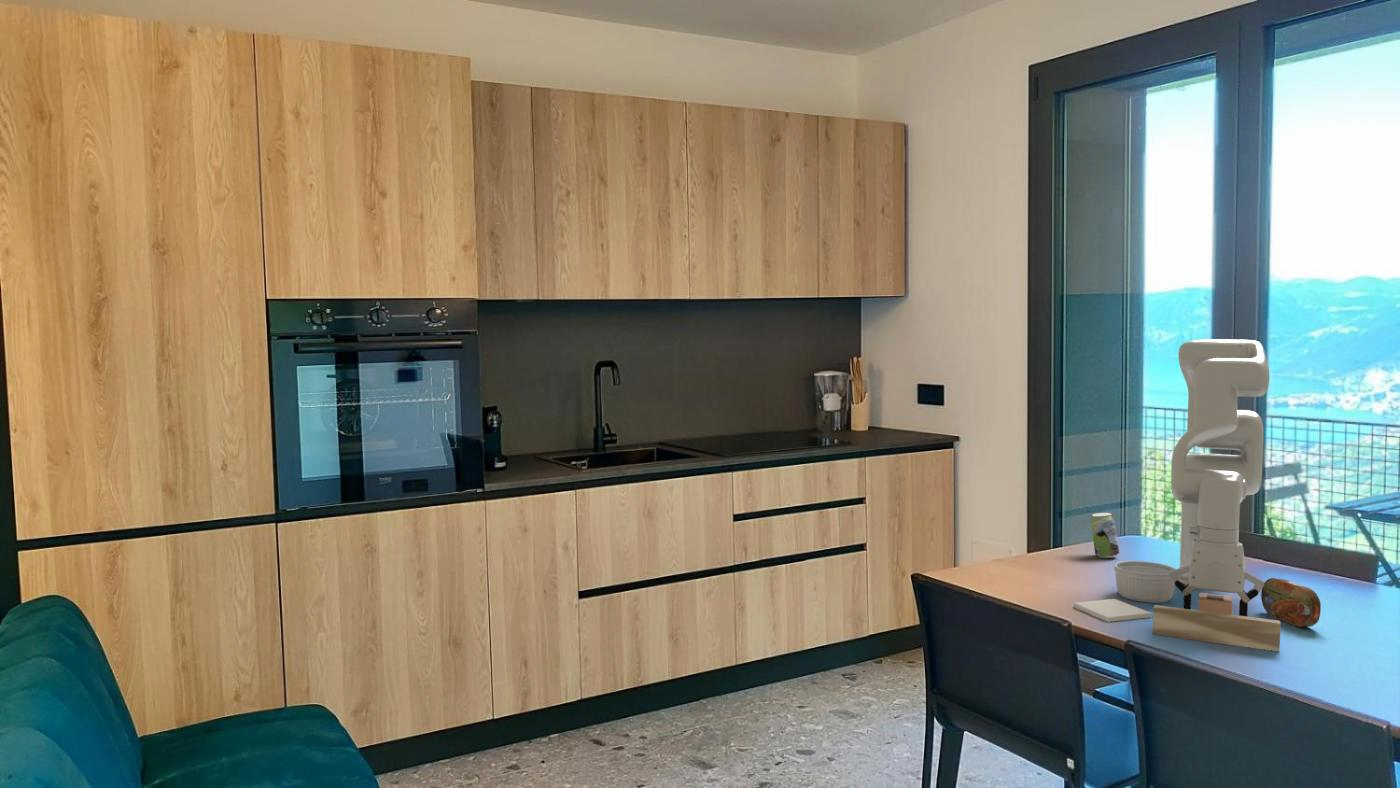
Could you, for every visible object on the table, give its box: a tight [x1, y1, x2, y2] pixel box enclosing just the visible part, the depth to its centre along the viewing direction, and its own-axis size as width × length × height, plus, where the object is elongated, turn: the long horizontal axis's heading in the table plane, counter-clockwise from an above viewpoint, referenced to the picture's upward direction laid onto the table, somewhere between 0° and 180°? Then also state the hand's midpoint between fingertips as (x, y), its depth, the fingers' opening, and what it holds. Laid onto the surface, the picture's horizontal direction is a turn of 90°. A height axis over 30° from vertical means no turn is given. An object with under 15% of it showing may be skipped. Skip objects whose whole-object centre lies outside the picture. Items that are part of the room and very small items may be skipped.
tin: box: [1260, 577, 1322, 628], centre depth 201 cm, size 15×3×8 cm, turn 5°
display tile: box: [1073, 598, 1152, 623], centre depth 207 cm, size 11×11×1 cm
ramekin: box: [1113, 560, 1176, 604], centre depth 219 cm, size 13×13×7 cm
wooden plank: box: [1152, 604, 1282, 652], centre depth 188 cm, size 2×22×6 cm, turn 62°
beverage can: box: [1090, 512, 1120, 559], centre depth 256 cm, size 6×7×12 cm
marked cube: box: [1197, 592, 1233, 615], centre depth 198 cm, size 6×6×6 cm
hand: (1214, 616), depth 198 cm, fingers open, 9 cm apart
